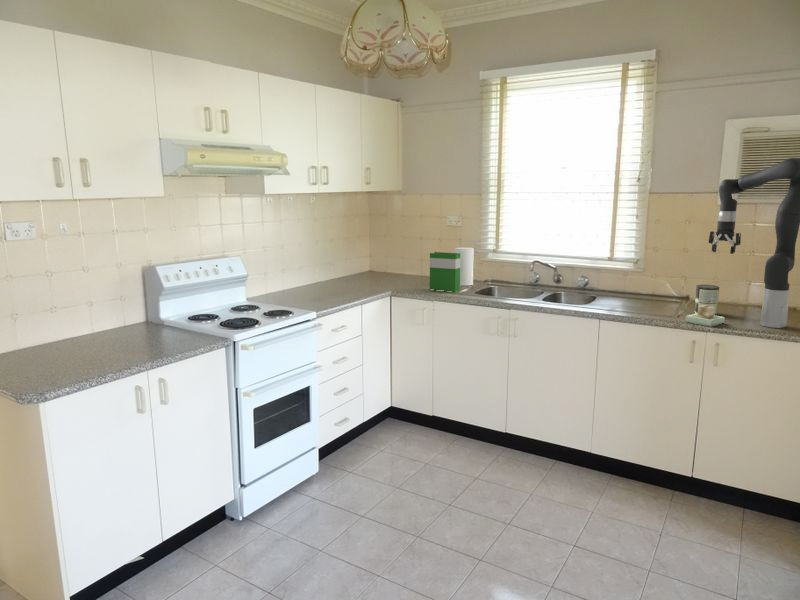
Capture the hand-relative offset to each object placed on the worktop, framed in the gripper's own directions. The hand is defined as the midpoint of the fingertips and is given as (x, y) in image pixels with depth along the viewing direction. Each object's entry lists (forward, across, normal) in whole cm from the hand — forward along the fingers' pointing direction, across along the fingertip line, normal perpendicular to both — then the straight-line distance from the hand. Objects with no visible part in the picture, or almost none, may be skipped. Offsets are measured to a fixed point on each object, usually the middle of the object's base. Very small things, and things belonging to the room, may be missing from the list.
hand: (722, 252), depth 279 cm
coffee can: (+31, +3, +5) cm, 32 cm away
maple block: (+30, -8, +27) cm, 41 cm away
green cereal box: (+33, +133, +71) cm, 154 cm away
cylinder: (+33, +142, +47) cm, 153 cm away
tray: (+31, -8, +27) cm, 41 cm away
